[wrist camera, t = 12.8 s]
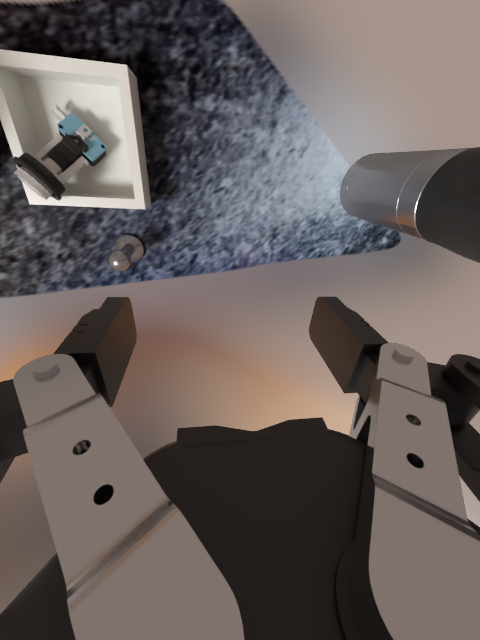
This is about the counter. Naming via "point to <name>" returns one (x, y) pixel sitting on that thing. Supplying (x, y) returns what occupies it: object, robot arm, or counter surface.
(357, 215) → the robot arm
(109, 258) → the ball stud post
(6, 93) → the bin
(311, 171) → the counter surface
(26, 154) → the push button
